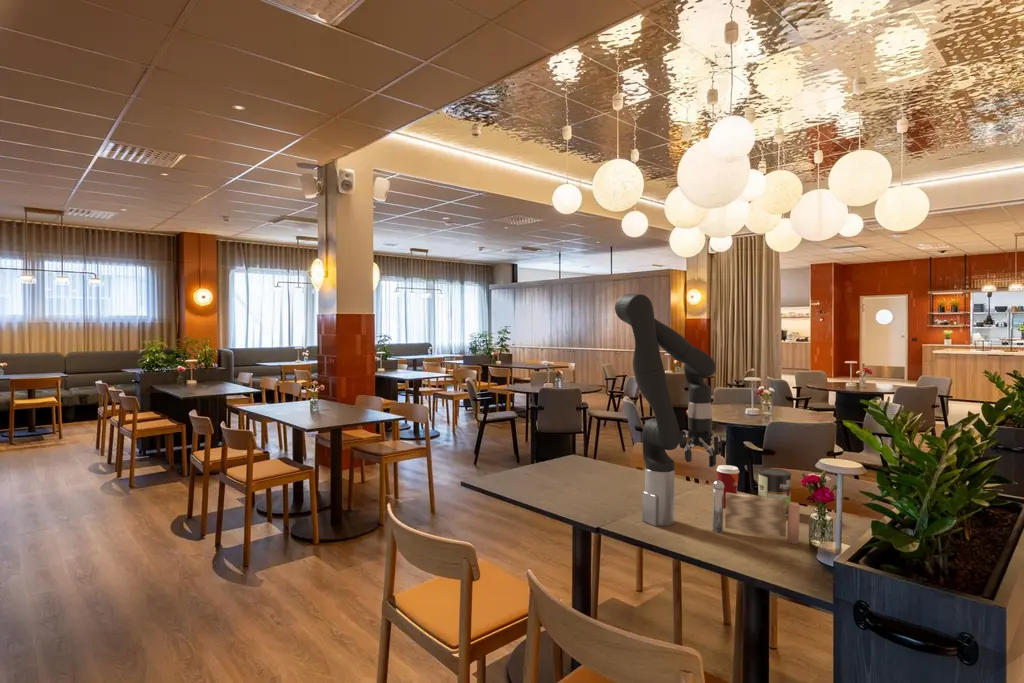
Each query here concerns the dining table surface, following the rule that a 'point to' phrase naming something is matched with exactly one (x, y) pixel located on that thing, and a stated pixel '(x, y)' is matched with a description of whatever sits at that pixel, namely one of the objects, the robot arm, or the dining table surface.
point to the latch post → (793, 523)
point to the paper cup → (728, 479)
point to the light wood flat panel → (755, 514)
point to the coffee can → (775, 484)
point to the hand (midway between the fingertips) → (700, 464)
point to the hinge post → (718, 506)
